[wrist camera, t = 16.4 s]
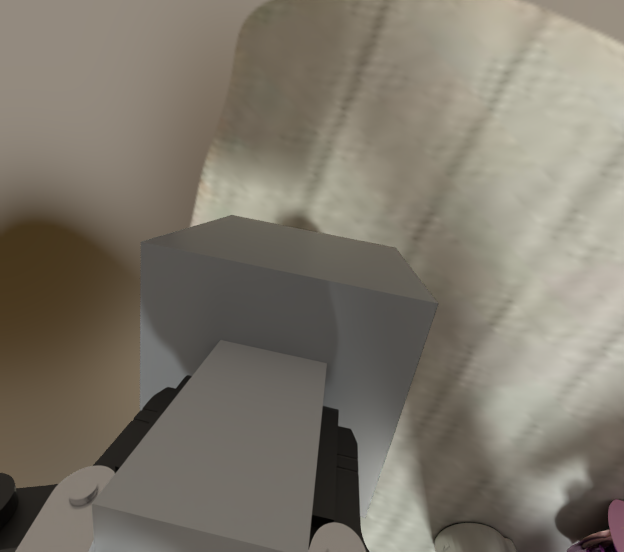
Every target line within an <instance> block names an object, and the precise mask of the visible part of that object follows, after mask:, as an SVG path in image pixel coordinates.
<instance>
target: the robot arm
mask: <svg viewBox="0 0 624 552" xmlns="http://www.w3.org/2000/svg"><path fill="white" fill-rule="evenodd" d="M191 377H192V376H190V375H187V376H186V377H185V378H184V379H183V380H182V381H181V383H180V384H179V385H178V386H177V388H176V389H175V388H171V387H166V388H165V389H163V390H162V391H160V392H158V393H157V394H155V395H154V396H152V398H151V399H150V400H149V401H148V402H147V403H146V405H145V406H144V407H143V409H142V411H141V410H140V412H139V413H138V414H137V415H136V416H135V417H134V420H133V421H131V422H130V423H129V425H128V426H127V427H126V428H125V429H124V430H123V431H122V433H121V434H120V435H119V436H118V437H117V439H116V440H115V441H114V442H113V443H112V444H111V446H110V447H109V448H108V449H107V450H106V451H105V453H104V454H103V455H102V456H101V457H100V458H99V460H98V461H97V462H96V463H95V464H94V465H93V466H90V467H86V468H83V469H80V470H78V471H76V472H74V473H72V474H71V475H69V476H68V477H66V478H65V479H64V480H63V481H62V482H60V483H59V484H55V485H48V486H37V487H27V488H16V487H15V483H14V480H13V478H12V477H11V476H9V475H7V474H4V473H0V552H95V539H94V533H93V518H92V503H93V501H94V500H95V499H96V498H97V496H98V495H99V494H100V492H101V491H102V490H103V489H104V487H105V486H106V485H107V484H108V482H109V481H110V480H111V478H112V477H113V476H114V475H115V473H116V472H117V471H118V470H119V468H120V467H121V466H122V465H123V463H124V462H125V461H126V459H127V458H128V457H129V456H130V454H131V453H132V452H133V451H134V449H135V448H136V447H137V445H138V444H139V443H140V442H141V440H142V439H143V438H144V437H145V435H146V434H147V433H148V431H149V430H150V429H151V428H152V426H153V425H154V424H155V423H156V421H157V420H158V419H159V418H160V416H161V415H162V414H163V412H164V411H165V410H166V409H167V407H168V406H169V405H170V404H171V402H172V401H173V400H174V398H175V397H176V396H177V395H178V393H179V392H180V391H181V390H182V388H183V387H184V386H185V385H186V383H187V382H188V381H189V379H190V378H191ZM338 418H339V410H338V409H335V408H330V407H326V406H323V408H322V418H321V428H320V438H319V448H318V458H317V468H316V478H315V488H314V498H313V508H312V518H311V528H310V538H309V548H308V552H369V550H368V549H367V547H366V545H365V543H364V540H363V537H362V533H361V526H360V499H359V475H358V471H359V470H358V443H357V441H356V439H355V437H354V434H353V432H352V430H351V429H349V428H345V427H340V426H338ZM434 543H435V551H436V552H517V551H516V549H515V546H514V544H513V542H512V540H511V539H507V538H504V537H503V536H502V535H501V534H500V533H499V532H498V531H496V530H495V529H493V528H491V527H488V526H486V525H482V524H477V523H461V524H456V525H453V526H450V527H448V528H446V529H444V530H443V531H441V532H440V533H439V534H438V536H437V537H436V539H435V542H434Z"/></svg>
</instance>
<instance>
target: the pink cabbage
mask: <svg viewBox="0 0 624 552" xmlns="http://www.w3.org/2000/svg"><path fill="white" fill-rule="evenodd" d="M608 522H609V528H610V529H609V530H604V531H600V532H597V533H594V534H592V535H589V536H587V537H585V538H583V539H582V540H581V541H580V542H578V543H576V544H574V545H572V546H571V547H570V548H569V549H568V550H567V552H624V501H622V500H618V499H615V500H613V501H612V503H611V504H610V506H609V510H608Z"/></svg>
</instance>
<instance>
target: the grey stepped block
mask: <svg viewBox="0 0 624 552" xmlns="http://www.w3.org/2000/svg"><path fill="white" fill-rule="evenodd" d="M437 306H438V302H437V301H436V300H435V298H434V297H433V296H432V294H431V293H430V292H429V291H428V289H427V288H426V287H425V285H424V284H423V283H422V281H421V280H420V279H419V278H418V276H417V275H416V274H415V272H414V271H413V270H412V268H411V267H410V266H409V264H408V263H407V262H406V261H405V259H404V258H403V257H402V255H401V254H400V253H399V251H398V250H397V249H396V248H394V247H389V246H384V245H379V244H374V243H369V242H364V241H359V240H354V239H349V238H344V237H339V236H334V235H329V234H324V233H319V232H314V231H309V230H304V229H299V228H294V227H289V226H284V225H279V224H274V223H269V222H264V221H259V220H254V219H249V218H244V217H239V216H234V215H231V216H227V217H224V218H220V219H217V220H214V221H210V222H207V223H203V224H200V225H197V226H193V227H190V228H187V229H183V230H180V231H176V232H173V233H170V234H166V235H163V236H159V237H156V238H152V239H149V240H146V241H142V242H141V306H140V309H141V312H140V313H141V315H140V317H141V318H140V319H141V320H140V410H141V411H142V409H143V407H144V406H145V405H146V403H147V402H148V401H149V400H150V399H151V398H152V396H154V395H155V394H157V393H158V392H160V391H162V390H163V389H165V388H166V387H171V388H175V389H176V388H177V386H178V385H179V384H180V383H181V381H182V380H183V379H184V378H185V377H186V376H187V375H190V376H192V377H191V378H190V379H189V381H188V382H187V383H186V385H185V386H184V387H183V388H182V390H181V391H180V392H179V393H178V395H177V396H176V397H175V398H174V400H173V401H172V402H171V404H170V405H169V406H168V407H167V409H166V410H165V411H164V412H163V414H162V415H161V416H160V418H159V419H158V420H157V421H156V423H155V424H154V425H153V426H152V428H151V429H150V430H149V431H148V433H147V434H146V435H145V437H144V438H143V439H142V440H141V442H140V443H139V444H138V445H137V447H136V448H135V449H134V451H133V452H132V453H131V454H130V456H129V457H128V458H127V459H126V461H125V462H124V463H123V465H122V466H121V467H120V468H119V470H118V471H117V472H116V473H115V475H114V476H113V477H112V478H111V480H110V481H109V482H108V484H107V485H106V486H105V487H104V489H103V490H102V491H101V492H100V494H99V495H98V496H97V498H96V499H95V500H94V501H93V503H92V518H93V533H94V539H95V552H308V548H309V538H310V528H311V518H312V508H313V498H314V488H315V478H316V468H317V458H318V448H319V438H320V428H321V418H322V408H323V406H326V407H330V408H335V409H338V410H339V418H338V426H340V427H345V428H349V429H351V430H352V432H353V434H354V437H355V439H356V441H357V443H358V470H359V471H358V475H359V499H360V517H363V518H366V515H367V512H368V509H369V506H370V503H371V500H372V497H373V495H374V492H375V489H376V486H377V483H378V480H379V477H380V474H381V471H382V468H383V465H384V462H385V459H386V456H387V453H388V450H389V447H390V445H391V442H392V439H393V436H394V433H395V430H396V427H397V424H398V421H399V418H400V415H401V412H402V409H403V406H404V403H405V400H406V397H407V395H408V392H409V389H410V386H411V383H412V380H413V377H414V374H415V371H416V368H417V365H418V362H419V359H420V356H421V353H422V350H423V347H424V344H425V342H426V339H427V336H428V333H429V330H430V327H431V324H432V321H433V318H434V315H435V312H436V309H437Z"/></svg>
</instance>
